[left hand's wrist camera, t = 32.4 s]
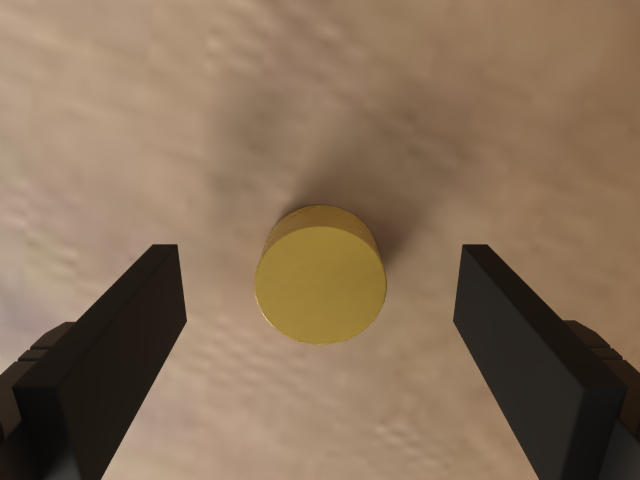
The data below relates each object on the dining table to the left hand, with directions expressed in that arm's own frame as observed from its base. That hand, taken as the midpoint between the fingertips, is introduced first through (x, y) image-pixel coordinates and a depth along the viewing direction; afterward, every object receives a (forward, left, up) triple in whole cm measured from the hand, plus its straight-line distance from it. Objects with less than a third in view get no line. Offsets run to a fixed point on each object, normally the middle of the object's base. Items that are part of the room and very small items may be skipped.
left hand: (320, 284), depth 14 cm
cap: (0, 0, 0) cm, 0 cm away
